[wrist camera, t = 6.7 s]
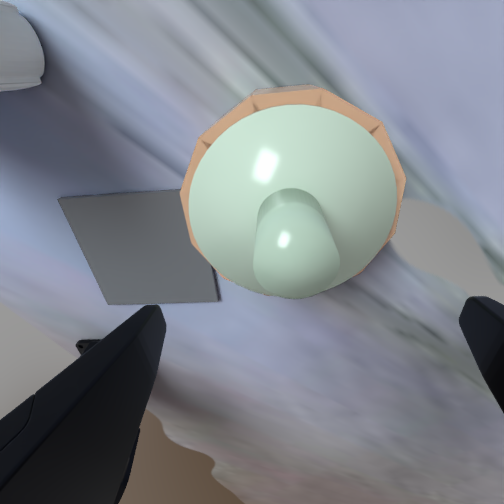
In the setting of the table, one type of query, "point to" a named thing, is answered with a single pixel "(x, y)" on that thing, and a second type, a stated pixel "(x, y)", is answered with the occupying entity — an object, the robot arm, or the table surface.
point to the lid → (292, 200)
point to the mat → (140, 247)
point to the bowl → (292, 96)
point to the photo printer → (18, 51)
